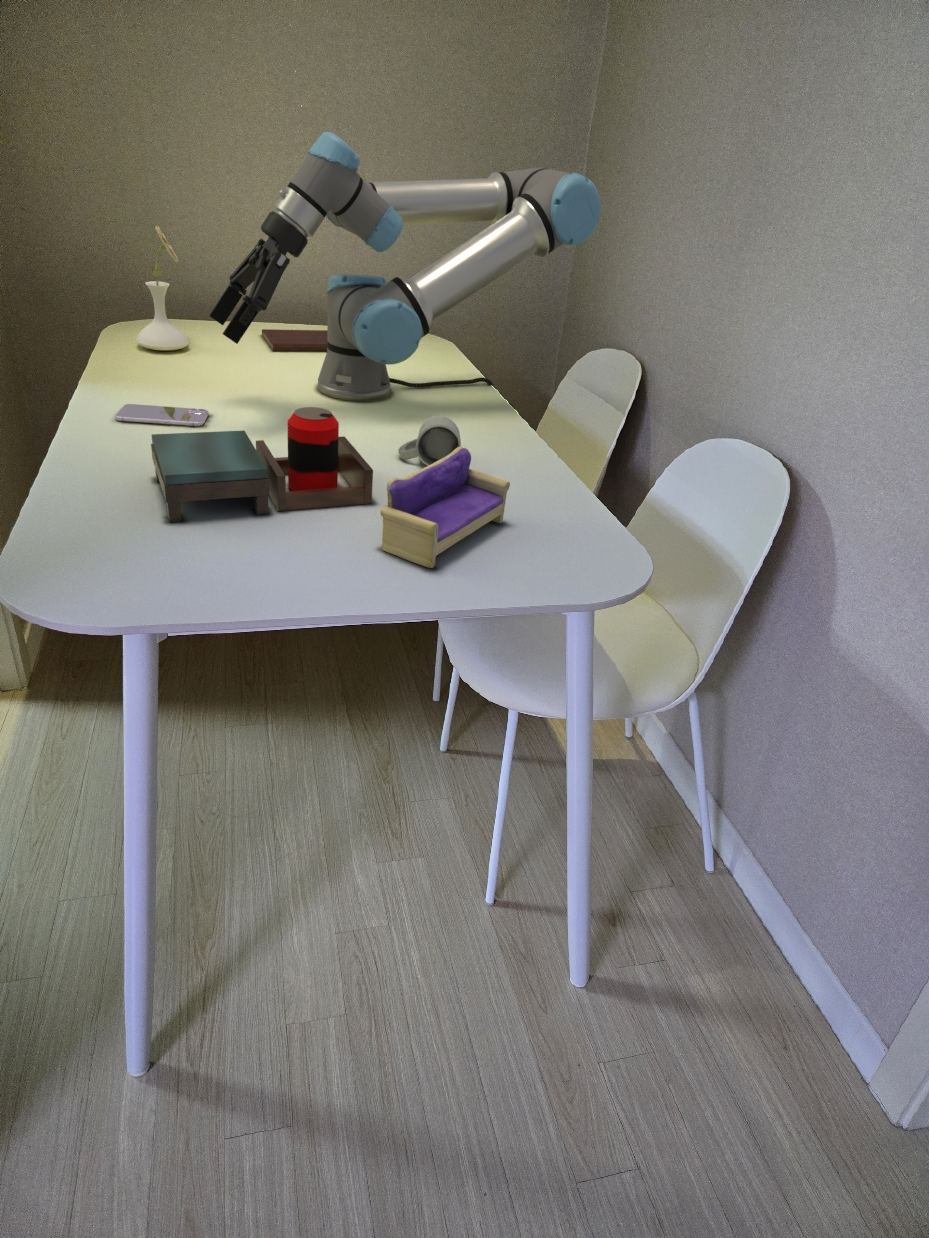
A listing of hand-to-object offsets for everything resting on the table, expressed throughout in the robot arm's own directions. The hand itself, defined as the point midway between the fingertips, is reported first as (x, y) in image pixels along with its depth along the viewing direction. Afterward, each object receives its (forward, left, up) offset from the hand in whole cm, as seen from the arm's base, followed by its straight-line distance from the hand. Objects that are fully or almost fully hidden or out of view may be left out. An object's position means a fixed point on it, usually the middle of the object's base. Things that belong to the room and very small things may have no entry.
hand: (222, 329), depth 139 cm
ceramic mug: (-30, +26, -16) cm, 43 cm away
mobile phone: (+11, -1, -16) cm, 19 cm away
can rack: (-7, +34, -16) cm, 38 cm away
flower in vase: (+5, -49, -16) cm, 51 cm away
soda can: (-7, +34, -16) cm, 38 cm away
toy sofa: (-21, +54, -16) cm, 60 cm away
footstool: (+9, +34, -16) cm, 39 cm away
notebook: (-29, -52, -16) cm, 61 cm away
